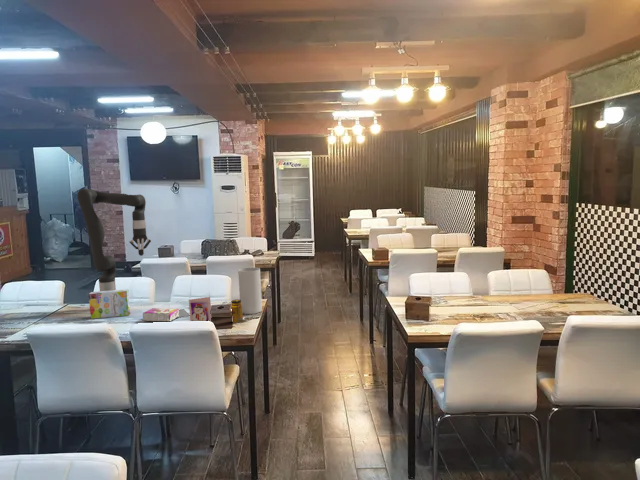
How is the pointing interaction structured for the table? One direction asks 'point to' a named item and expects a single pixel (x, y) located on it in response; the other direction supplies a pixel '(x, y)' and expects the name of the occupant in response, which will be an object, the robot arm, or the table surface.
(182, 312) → the mat
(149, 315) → the candy bar box
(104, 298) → the snack box
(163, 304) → the table surface
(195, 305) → the greeting card
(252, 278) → the cylinder vase
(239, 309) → the condiment
